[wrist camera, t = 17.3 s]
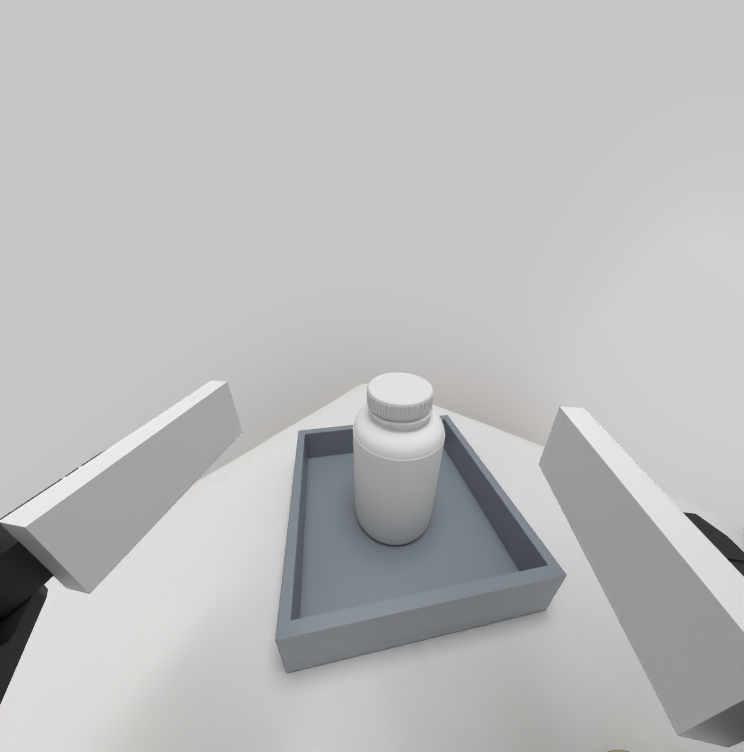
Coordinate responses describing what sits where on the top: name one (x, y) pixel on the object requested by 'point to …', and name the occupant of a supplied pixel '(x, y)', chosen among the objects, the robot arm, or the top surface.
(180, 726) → the top surface
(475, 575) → the tray
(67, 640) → the top surface
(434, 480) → the pill bottle
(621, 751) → the ladybug figurine
